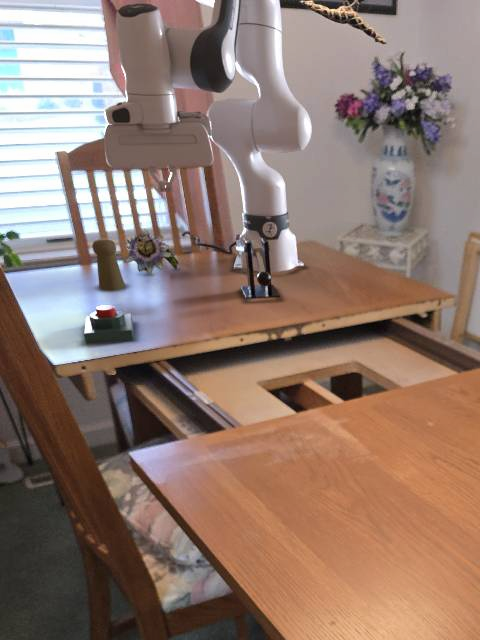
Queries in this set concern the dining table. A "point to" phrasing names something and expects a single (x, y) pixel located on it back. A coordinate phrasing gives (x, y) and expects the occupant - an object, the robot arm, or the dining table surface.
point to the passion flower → (149, 252)
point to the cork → (107, 265)
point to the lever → (260, 263)
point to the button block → (108, 328)
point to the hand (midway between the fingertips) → (165, 191)
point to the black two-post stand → (251, 289)
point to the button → (105, 311)
